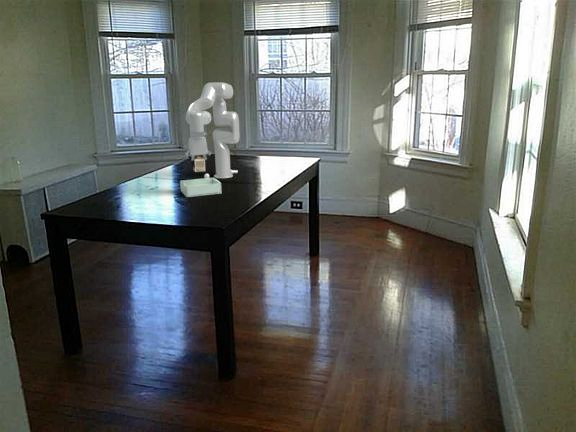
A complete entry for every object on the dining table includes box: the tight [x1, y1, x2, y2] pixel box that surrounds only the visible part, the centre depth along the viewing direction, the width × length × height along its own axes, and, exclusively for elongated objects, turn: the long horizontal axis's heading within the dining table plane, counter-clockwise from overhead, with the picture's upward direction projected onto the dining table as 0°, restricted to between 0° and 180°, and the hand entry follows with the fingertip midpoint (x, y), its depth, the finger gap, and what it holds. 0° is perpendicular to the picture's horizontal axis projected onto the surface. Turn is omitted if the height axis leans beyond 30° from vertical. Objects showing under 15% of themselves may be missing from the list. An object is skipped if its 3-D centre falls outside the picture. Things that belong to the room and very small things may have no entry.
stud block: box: [203, 173, 222, 184], centre depth 318 cm, size 14×12×7 cm
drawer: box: [192, 155, 206, 173], centre depth 295 cm, size 6×6×8 cm
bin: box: [179, 177, 223, 198], centre depth 299 cm, size 20×18×6 cm
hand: (199, 166), depth 296 cm, fingers closed on drawer, 5 cm apart
